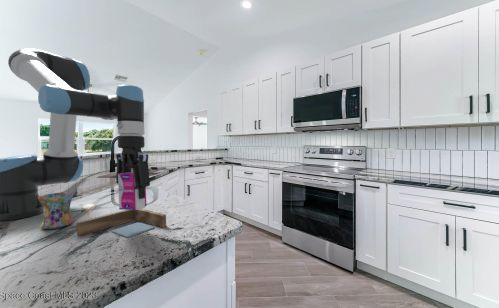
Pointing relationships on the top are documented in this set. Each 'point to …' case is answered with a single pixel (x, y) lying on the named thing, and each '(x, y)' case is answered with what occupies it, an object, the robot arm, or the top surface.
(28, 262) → the top surface
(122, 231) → the pad
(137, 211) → the wooden l-shaped corner
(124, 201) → the supplement box
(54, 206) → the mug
